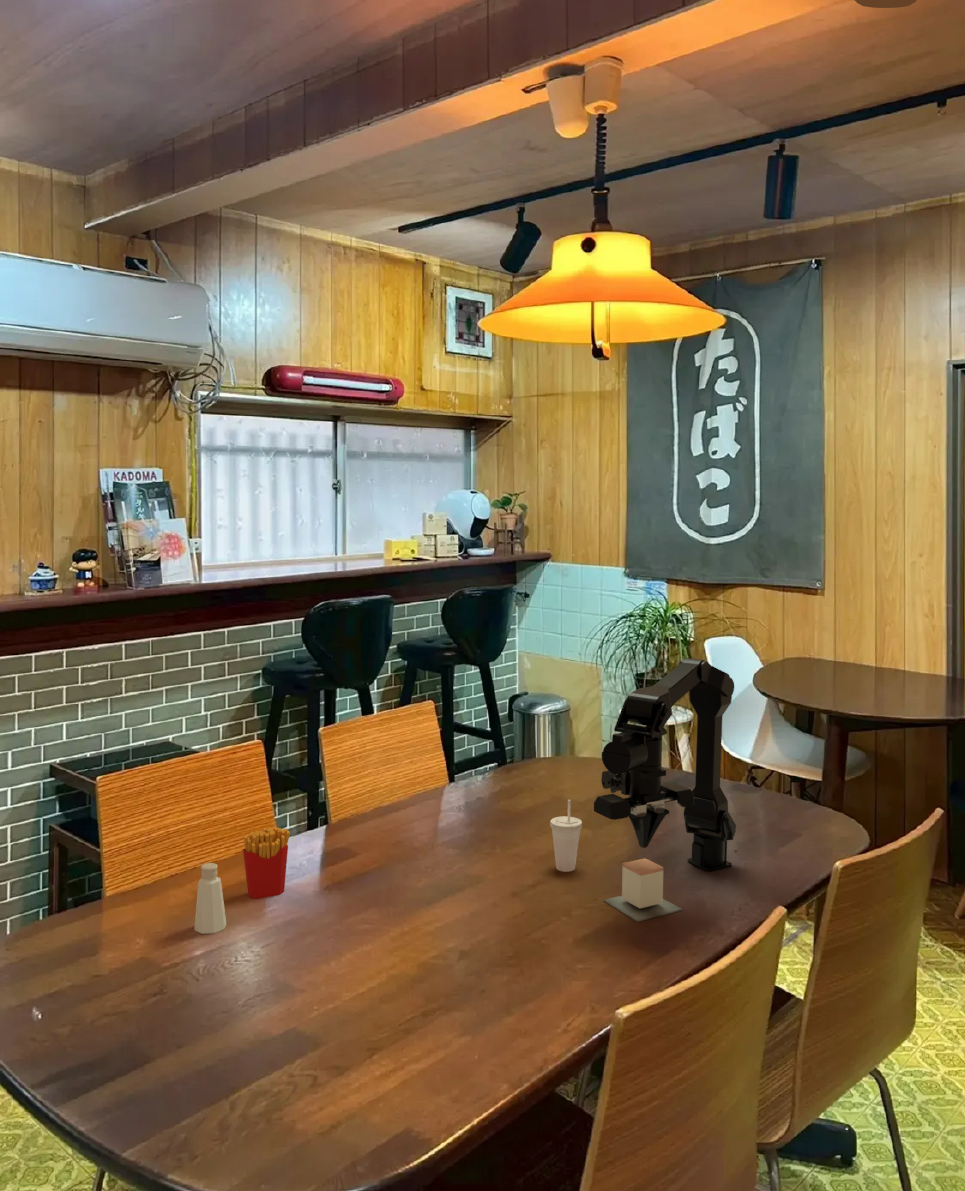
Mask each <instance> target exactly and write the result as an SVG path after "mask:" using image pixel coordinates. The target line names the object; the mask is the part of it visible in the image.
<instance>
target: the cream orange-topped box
mask: <svg viewBox="0 0 965 1191" xmlns="http://www.w3.org/2000/svg"><path fill="white" fill-rule="evenodd" d="M621 874H622V875H621V876H622V878H621V896H622V899H624V900H626V901H628V902H629V903H631V904H633V905H635V906H636V907H638V908H644V907H648V906H652V905H656V904H660V903H663V899H664V898H663V897H664V866H662V865H659V864H658V863H656V862H653V861H651V860H650V859H647V858H639V859H636V860H631V861H630V860H629V861H626V862H622V873H621Z"/></svg>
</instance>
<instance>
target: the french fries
mask: <svg viewBox="0 0 965 1191" xmlns="http://www.w3.org/2000/svg"><path fill="white" fill-rule="evenodd" d="M290 835H291V833H290V831H289V830H288V828H283V829H282V828H279V826H277V827H274V828H272V827H271V826H270V827H269V826H268V827H263V828H262V830H255V831H250V832H248V835H247V834H246V835H243V842H244V843H243V844H244V848H242V853H243V861H244V862H243V863H244V870H245V877H246V886H247V894H249V895H248V896H249V897H250V899H265V898H271V897H276V896H279V895H282V894H283V893H285V885H286V875H287V863H288V862H287V861H288V854H289V853H288V851H289V845H288V843H289V839H290ZM264 897H265V898H264Z"/></svg>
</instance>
